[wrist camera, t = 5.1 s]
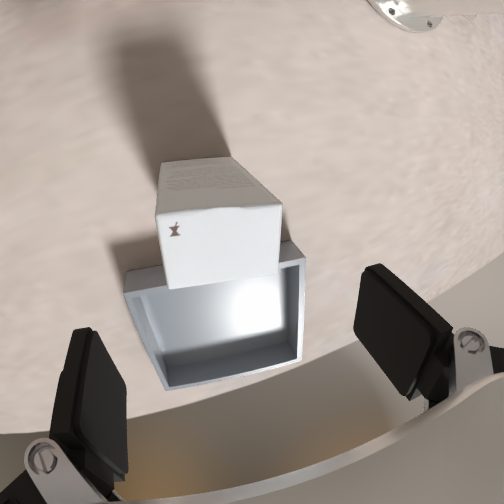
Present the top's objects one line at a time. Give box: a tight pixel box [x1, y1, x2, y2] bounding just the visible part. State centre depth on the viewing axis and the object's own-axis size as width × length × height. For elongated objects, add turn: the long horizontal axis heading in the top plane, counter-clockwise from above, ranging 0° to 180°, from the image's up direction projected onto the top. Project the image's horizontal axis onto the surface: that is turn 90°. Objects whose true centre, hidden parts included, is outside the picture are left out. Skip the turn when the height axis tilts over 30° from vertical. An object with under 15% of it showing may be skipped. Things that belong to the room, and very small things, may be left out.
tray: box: [123, 240, 306, 391], centre depth 30 cm, size 16×14×4 cm
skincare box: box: [155, 157, 282, 289], centre depth 19 cm, size 6×4×12 cm
